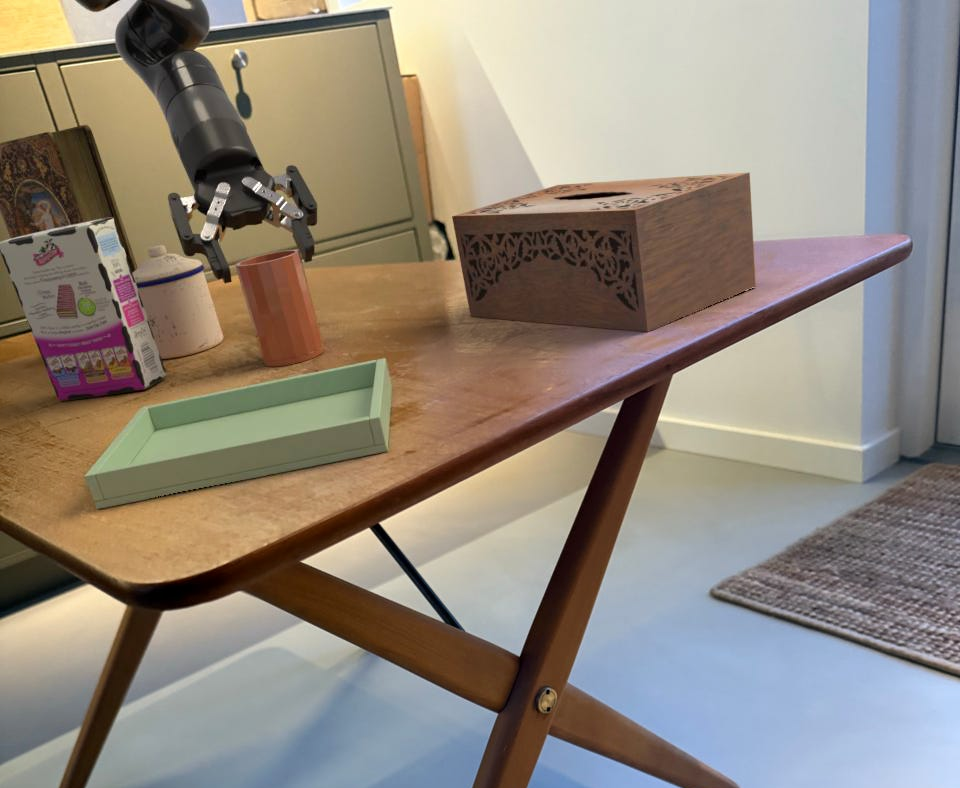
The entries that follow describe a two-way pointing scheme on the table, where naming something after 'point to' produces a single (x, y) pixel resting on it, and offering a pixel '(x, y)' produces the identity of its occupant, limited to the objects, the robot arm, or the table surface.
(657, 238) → the tissue box cover
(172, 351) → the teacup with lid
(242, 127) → the robot arm
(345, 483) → the table surface
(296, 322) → the cup
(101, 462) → the tray
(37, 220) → the book
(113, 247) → the candy bar box
